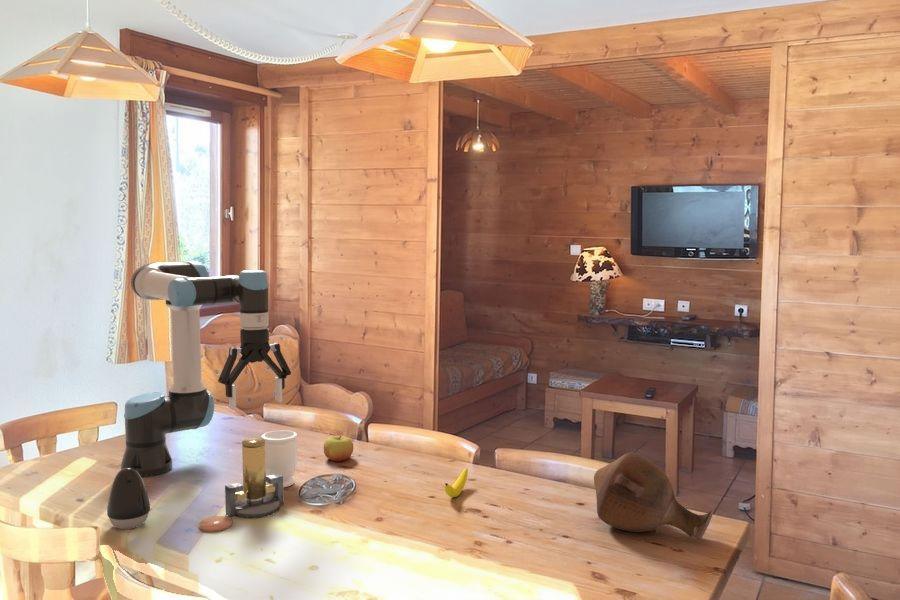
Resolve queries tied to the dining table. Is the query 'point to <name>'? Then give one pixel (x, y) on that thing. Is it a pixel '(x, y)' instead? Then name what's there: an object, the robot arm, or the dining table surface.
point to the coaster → (215, 523)
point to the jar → (281, 454)
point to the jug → (642, 498)
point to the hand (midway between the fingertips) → (256, 405)
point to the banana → (457, 485)
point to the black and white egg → (128, 500)
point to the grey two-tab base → (254, 500)
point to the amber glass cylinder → (254, 470)
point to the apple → (338, 448)
